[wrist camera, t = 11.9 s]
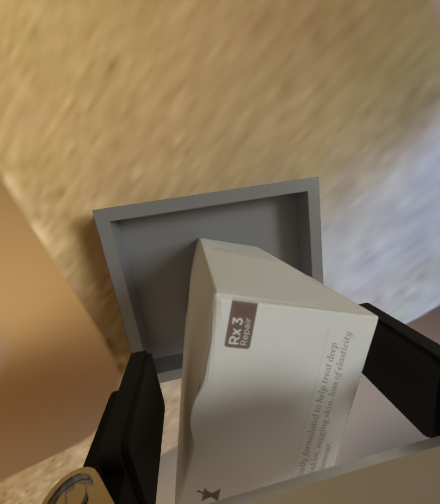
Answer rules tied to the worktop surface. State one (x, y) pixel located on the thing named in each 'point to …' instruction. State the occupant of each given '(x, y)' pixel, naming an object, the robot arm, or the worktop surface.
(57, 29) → the worktop surface
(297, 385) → the skincare box
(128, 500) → the robot arm
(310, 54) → the worktop surface
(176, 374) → the tray
